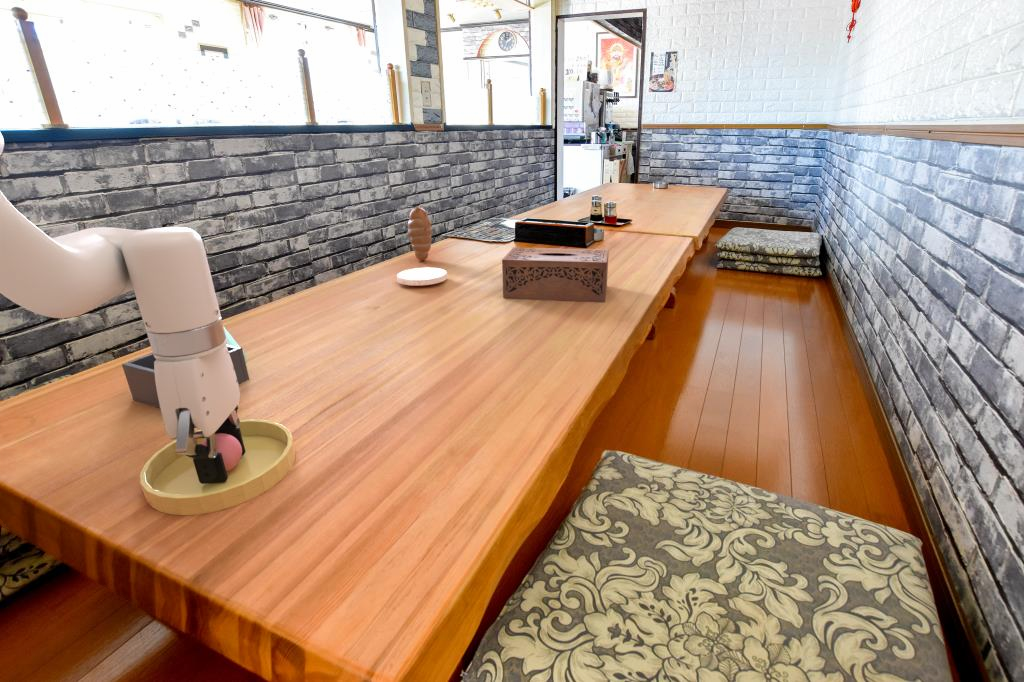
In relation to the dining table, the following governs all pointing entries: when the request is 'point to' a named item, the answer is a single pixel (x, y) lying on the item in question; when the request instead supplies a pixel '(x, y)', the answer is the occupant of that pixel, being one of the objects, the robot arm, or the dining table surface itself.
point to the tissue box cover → (555, 274)
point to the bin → (144, 376)
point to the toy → (228, 449)
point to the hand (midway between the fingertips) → (223, 466)
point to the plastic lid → (421, 276)
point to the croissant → (420, 232)
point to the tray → (258, 470)
